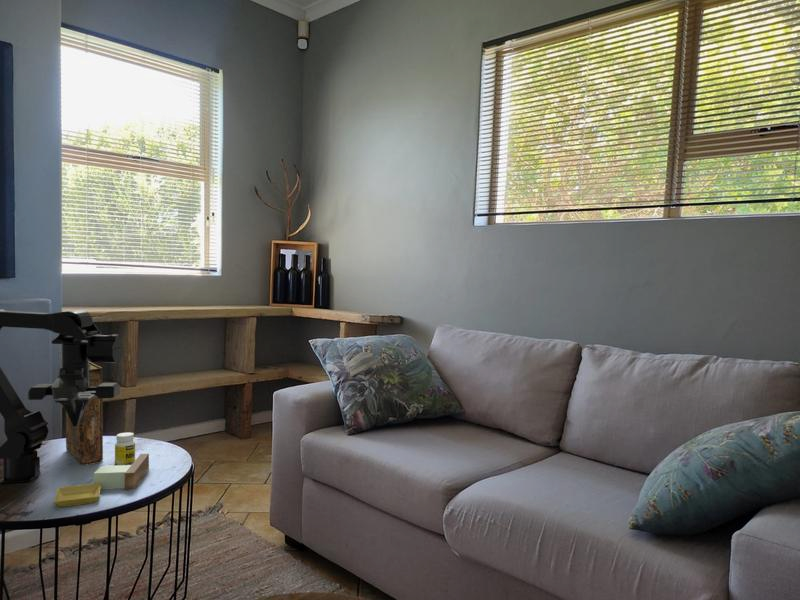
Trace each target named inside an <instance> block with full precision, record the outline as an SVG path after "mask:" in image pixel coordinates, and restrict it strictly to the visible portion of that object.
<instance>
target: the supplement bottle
mask: <svg viewBox="0 0 800 600" xmlns="http://www.w3.org/2000/svg"><path fill="white" fill-rule="evenodd" d="M134 435H135V433H134V432H119V433H118V434H116V442H115V443H114V466H116V465H132V464H133V463H134V461H135V460H136V441H135V439H134V438H135V437H134Z"/></svg>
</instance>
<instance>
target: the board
mask: <svg viewBox="0 0 800 600" xmlns="http://www.w3.org/2000/svg"><path fill="white" fill-rule="evenodd" d="M149 466H150V453H140V454H139V455H138V456H137V457H136V458H135V461H134V463H133V464H132V465H131V466H130V467H129V469H128V470H127V471H126V472H125V488H124V490H125V491H129V489H134V490H135V489H136V488H135V487H138V485H139V483H140V482H141V481H140V480H142V479H143V477H145V475H146V474H145V473H147V472H148V471H149V469H150V467H149ZM147 470H148V471H147ZM137 484H138V485H137Z"/></svg>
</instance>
